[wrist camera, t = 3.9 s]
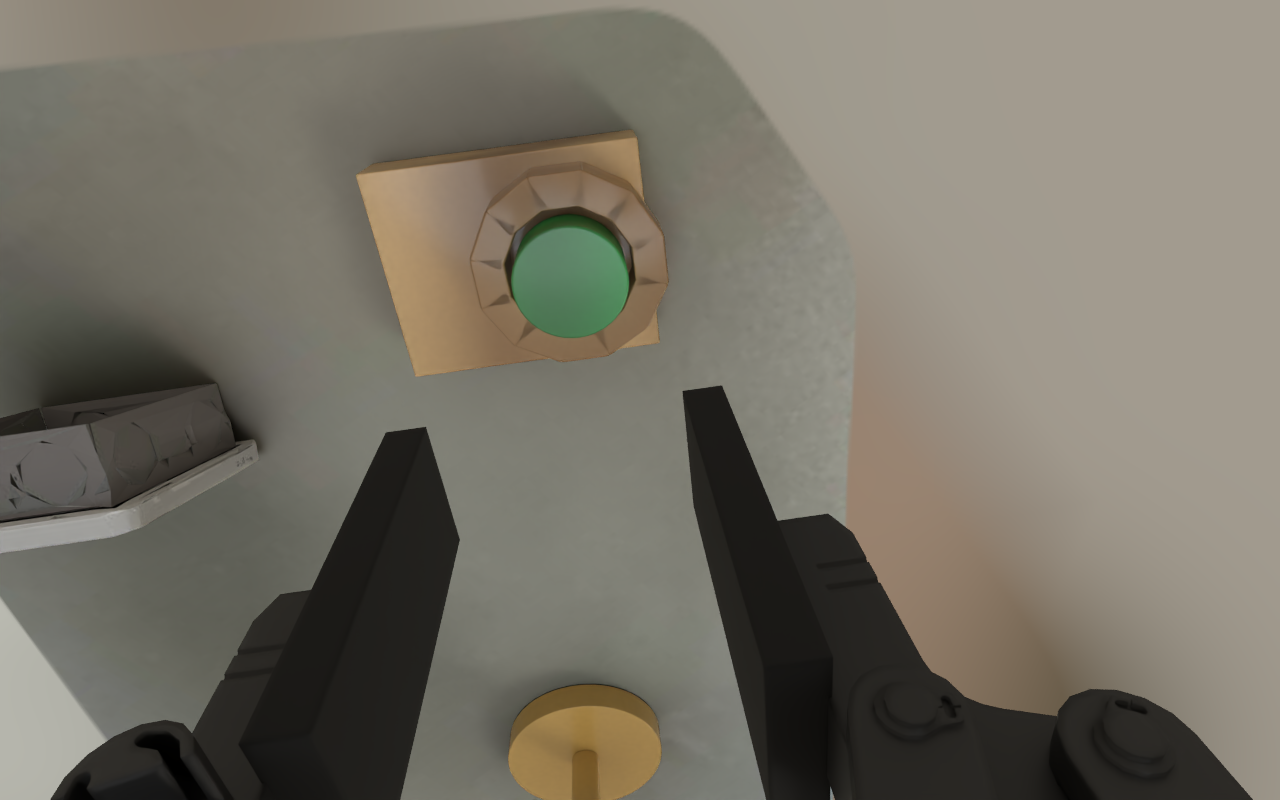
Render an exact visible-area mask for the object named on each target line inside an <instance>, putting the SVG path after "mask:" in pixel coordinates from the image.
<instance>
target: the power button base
mask: <svg viewBox="0 0 1280 800" xmlns="http://www.w3.org/2000/svg"><path fill="white" fill-rule="evenodd" d="M356 178H357V181H358V185H359V188H360V191H361V195H362V198H363V202H364V205H365V208H366V212H367V215H368V218H369V222H370V225H371V228H372V232H373V235H374V238H375V242H376V245H377V249H378V252H379V255H380V259H381V262H382V265H383V269H384V272H385V275H386V279H387V282H388V286H389V289H390V292H391V296H392V299H393V302H394V306H395V309H396V312H397V316H398V319H399V322H400V326H401V329H402V333H403V336H404V339H405V343H406V346H407V349H408V353H409V356H410V359H411V363H412V366H413V370H414V373H415V376H416V377H418V376H425V375H432V374H439V373H447V372H454V371H461V370H468V369H476V368H483V367H490V366H497V365H504V364H512V363H519V362H526V361H533V360H540V359H548V358H550V359H553V360H556V361H559V362H561V361H562V362H568V361H575V360H582V359H590V358H597V357H604V356H609V355H610V354H612V353H613V352H615V351H616V350H618V349H620V348H627V347H634V346H641V345H649V344H656V343H659V342H660V339H659V330H658V321H657V312H656V310H657V308H658V306H659V303H660V301H661V299H662V297H663V295H664V293H665V290H666V288H667V286H668V282H669V280H668V270H667V260H666V250H665V240H664V234H663V232H662V229H661V227H660V225H659V222H658V220H657V219H656V217H655V216H654V215H653V213H652V212H651V211H650V209H649V208H648V207H647V205H646V204H645V203H644V194H643V185H642V176H641V167H640V158H639V149H638V140H637V137H636V135H635V133H634V132H633V130H624V131H616V132H609V133H601V134H594V135H586V136H579V137H571V138H564V139H556V140H549V141H541V142H534V143H526V144H519V145H511V146H504V147H496V148H489V149H481V150H474V151H466V152H459V153H451V154H444V155H436V156H429V157H421V158H414V159H406V160H399V161H391V162H384V163H376V164H372V165H370V166H368V167H367V168H365V169H364V170H362V171H361V172H359V173H358V174H356ZM562 214H577V215H582V216H586V217H589V218H592V219H594V220H596V221H598V222H599V223H601V224H602V225H604V226H605V227H606V228H607V229H609V230H610V231H611V232H612V234H613V235H614V236H615V237H616V239H617V240H618V242H619V243H620V245H621V247H622V250H623V253H624V256H625V260H626V265H627V270H628V275H629V291H628V296H627V299H626V302H625V305H624V307H623V309H622V310H621V312H620V313H619V315H618V316H617V318H616V319H615V320H614V321H613V322H612V323H611V324H609V325H608V326H607V327H606V328H604V329H603V330H601V331H599V332H597V333H595V334H592V335H589V336H586V337H581V338H562V337H557V336H553V335H550V334H548V333H545V332H543V331H541V330H540V329H538V328H536V327H535V326H534V325H532V324H531V323H530V322H529V321H528V320H527V319H526V318H525V317H524V315H523V314H522V313H521V311H520V310H519V308H518V306H517V304H516V302H515V300H514V296H513V293H512V287H511V275H512V268H513V265H514V261H515V257H516V254H517V250H518V248H519V245H520V243H521V241H522V240H523V238H524V236H525V235H526V234H527V233H528V232H529V231H530V230H531V229H532V228H533V227H534V226H535V225H537V224H538V223H540V222H541V221H543V220H545V219H547V218H550V217H553V216H557V215H562Z"/></svg>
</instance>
